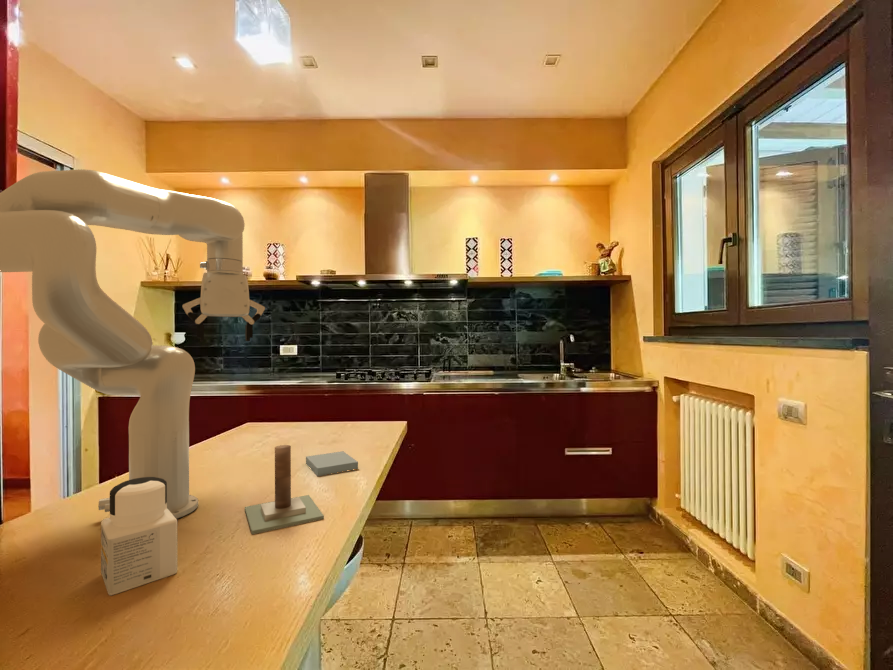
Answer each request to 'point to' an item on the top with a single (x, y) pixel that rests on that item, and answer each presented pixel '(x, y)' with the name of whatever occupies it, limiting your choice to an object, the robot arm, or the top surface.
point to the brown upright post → (282, 489)
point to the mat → (261, 525)
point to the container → (138, 535)
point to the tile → (331, 463)
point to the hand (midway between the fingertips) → (225, 341)
